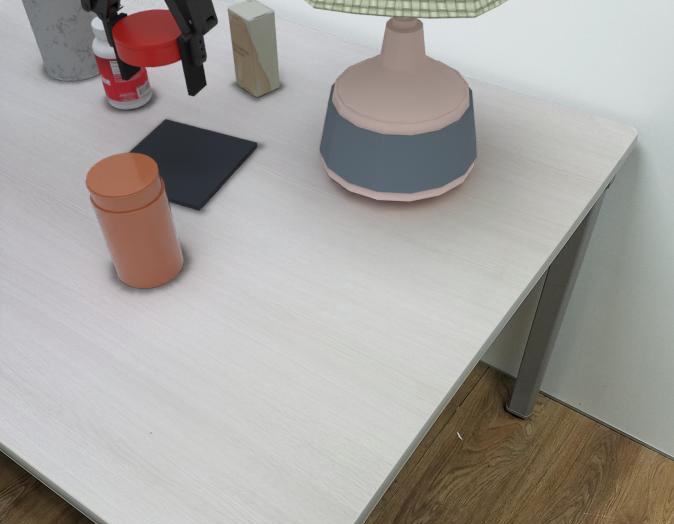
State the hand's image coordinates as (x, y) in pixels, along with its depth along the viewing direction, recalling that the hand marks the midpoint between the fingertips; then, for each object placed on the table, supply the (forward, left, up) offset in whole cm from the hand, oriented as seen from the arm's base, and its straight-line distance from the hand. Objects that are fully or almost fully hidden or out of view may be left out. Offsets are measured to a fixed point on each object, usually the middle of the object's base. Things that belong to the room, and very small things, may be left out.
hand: (164, 81), depth 79 cm
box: (0, +20, -11) cm, 23 cm away
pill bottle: (-15, +10, -11) cm, 21 cm away
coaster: (0, 0, -11) cm, 11 cm away
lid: (0, 0, +6) cm, 6 cm away
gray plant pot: (-28, +15, -11) cm, 34 cm away
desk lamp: (+25, +10, -11) cm, 29 cm away
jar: (+7, -17, -11) cm, 21 cm away
